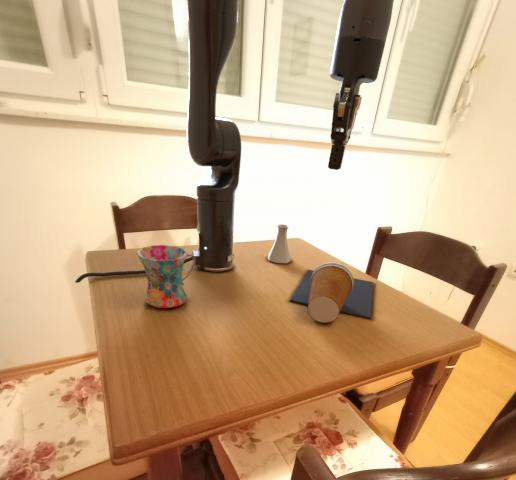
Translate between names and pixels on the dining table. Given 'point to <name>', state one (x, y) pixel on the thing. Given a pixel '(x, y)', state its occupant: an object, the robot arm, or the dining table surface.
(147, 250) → the mug
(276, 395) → the dining table surface
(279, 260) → the flask
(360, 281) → the mat
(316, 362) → the dining table surface
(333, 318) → the disposable coffee cup
